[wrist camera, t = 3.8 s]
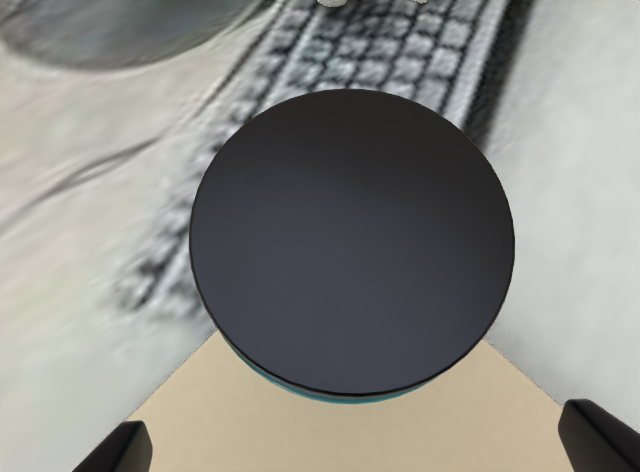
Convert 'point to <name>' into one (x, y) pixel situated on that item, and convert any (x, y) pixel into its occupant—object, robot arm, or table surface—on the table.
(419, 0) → the digital clock
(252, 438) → the cloth
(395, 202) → the flask
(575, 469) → the robot arm
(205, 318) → the table surface
